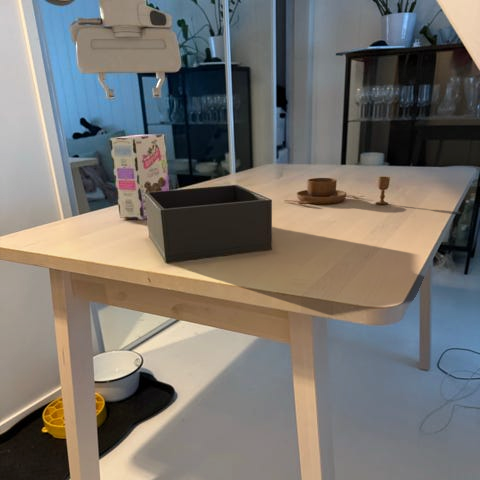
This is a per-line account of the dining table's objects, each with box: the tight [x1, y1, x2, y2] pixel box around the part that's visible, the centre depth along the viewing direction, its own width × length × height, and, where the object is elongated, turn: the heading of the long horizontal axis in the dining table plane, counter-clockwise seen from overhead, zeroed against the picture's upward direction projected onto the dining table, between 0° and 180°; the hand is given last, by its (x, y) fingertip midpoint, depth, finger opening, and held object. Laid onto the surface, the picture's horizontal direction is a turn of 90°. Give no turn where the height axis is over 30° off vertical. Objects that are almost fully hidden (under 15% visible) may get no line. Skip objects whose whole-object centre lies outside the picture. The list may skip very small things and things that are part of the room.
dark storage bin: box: [144, 184, 273, 264], centre depth 78 cm, size 17×17×8 cm
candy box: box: [109, 133, 171, 221], centre depth 101 cm, size 14×6×16 cm, turn 161°
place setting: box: [284, 176, 391, 206], centre depth 108 cm, size 18×20×6 cm
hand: (134, 98), depth 94 cm, fingers open, 8 cm apart
